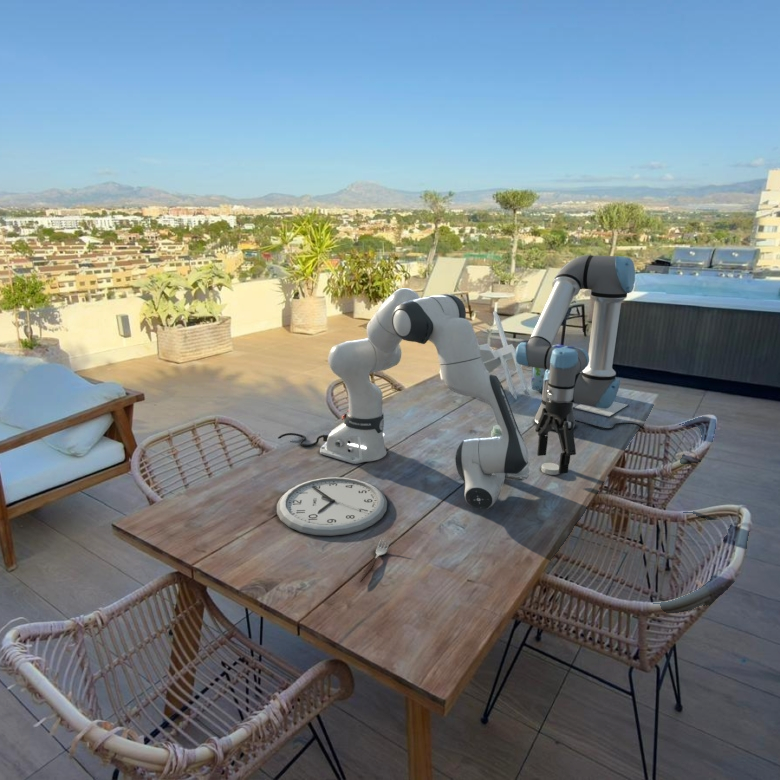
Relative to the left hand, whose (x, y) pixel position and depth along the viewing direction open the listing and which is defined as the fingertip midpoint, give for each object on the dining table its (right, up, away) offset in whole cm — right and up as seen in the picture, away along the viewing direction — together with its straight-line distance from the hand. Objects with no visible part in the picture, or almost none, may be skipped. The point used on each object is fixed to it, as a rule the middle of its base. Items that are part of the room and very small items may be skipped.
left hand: (497, 454), depth 160 cm
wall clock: (-49, -12, -18) cm, 53 cm away
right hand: (+18, -3, +5) cm, 19 cm away
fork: (-37, -19, -42) cm, 59 cm away
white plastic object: (+9, +19, +83) cm, 85 cm away
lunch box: (+44, +20, +90) cm, 102 cm away
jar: (0, -7, +1) cm, 7 cm away
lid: (+18, -5, +5) cm, 19 cm away
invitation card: (+58, +13, +66) cm, 89 cm away
